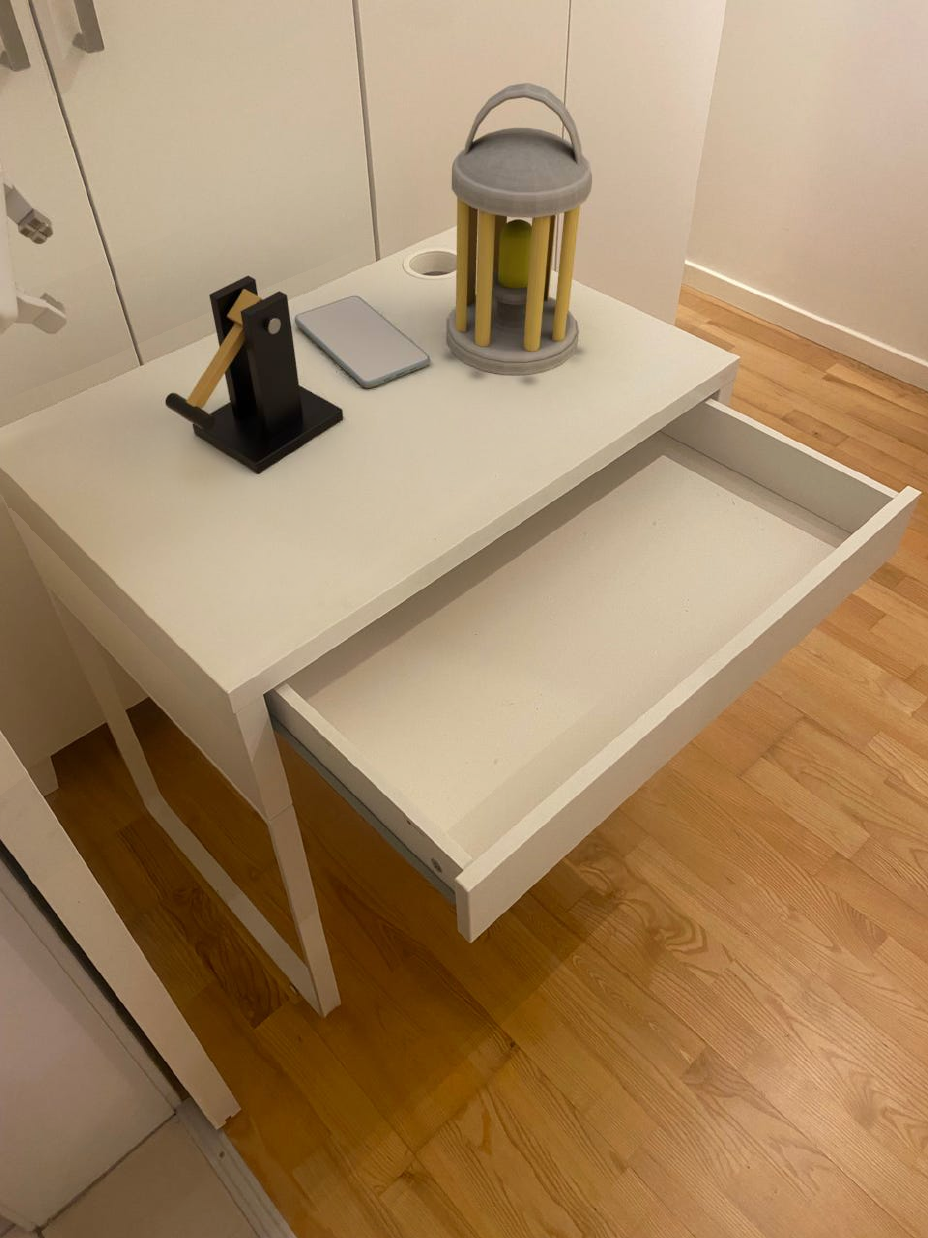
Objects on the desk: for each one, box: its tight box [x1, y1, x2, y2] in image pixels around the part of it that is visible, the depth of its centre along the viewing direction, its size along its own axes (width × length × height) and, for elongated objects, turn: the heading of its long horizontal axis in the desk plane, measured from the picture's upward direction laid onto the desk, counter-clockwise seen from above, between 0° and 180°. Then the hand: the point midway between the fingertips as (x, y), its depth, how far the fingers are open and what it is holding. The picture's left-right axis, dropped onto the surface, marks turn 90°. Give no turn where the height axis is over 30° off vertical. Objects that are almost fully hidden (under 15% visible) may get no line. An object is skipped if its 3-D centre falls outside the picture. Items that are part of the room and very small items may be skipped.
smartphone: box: [293, 295, 431, 389], centre depth 101 cm, size 8×1×15 cm
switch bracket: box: [191, 275, 344, 474], centre depth 87 cm, size 11×9×14 cm
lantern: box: [445, 82, 593, 376], centre depth 94 cm, size 14×14×25 cm
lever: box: [164, 289, 264, 431], centre depth 83 cm, size 12×5×2 cm
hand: (53, 275), depth 68 cm, fingers open, 8 cm apart
